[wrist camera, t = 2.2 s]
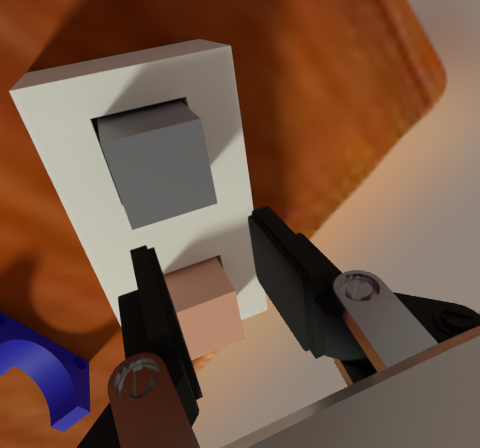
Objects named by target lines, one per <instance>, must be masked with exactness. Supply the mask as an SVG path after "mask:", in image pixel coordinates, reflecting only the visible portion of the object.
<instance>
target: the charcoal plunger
mask: <svg viewBox="0 0 480 448" xmlns="http://www.w3.org/2000/svg"><path fill="white" fill-rule="evenodd" d="M97 124H98V131H99V138H100V144H101V147H102V149H103V152H104V155H105V157H106V160H107V163H108V166H109V168H110V171H111V174H112V176H113V179H114V182H115V185H116V187H117V190H118V193H119V195H120V198H121V201H122V204H123V206H124V209H125V212H126V214H127V217H128V220H129V223H130V225H131V228H132V230H134V229H137V228H140V227H144V226H147V225H150V224H153V223H156V222H160V221H163V220H166V219H169V218H172V217H176V216H179V215H182V214H185V213H188V212H192V211H195V210H198V209H201V208H204V207H208V206H211V205H214V204H217V198H216V193H215V188H214V183H213V178H212V173H211V168H210V163H209V158H208V153H207V148H206V143H205V138H204V133H203V128H202V123H201V118H200V117H198V116H197V115H196V114H195V113H194V112H193V111H192V110H190V109H189V108H188V107H187V106H186V105H185V104H183V103H182V102H181V101H180V100H179V99H173V100H169V101H165V102H161V103H156V104H152V105H148V106H143V107H139V108H135V109H131V110H126V111H122V112H118V113H113V114H109V115H105V116H101V117H97Z"/></svg>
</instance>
